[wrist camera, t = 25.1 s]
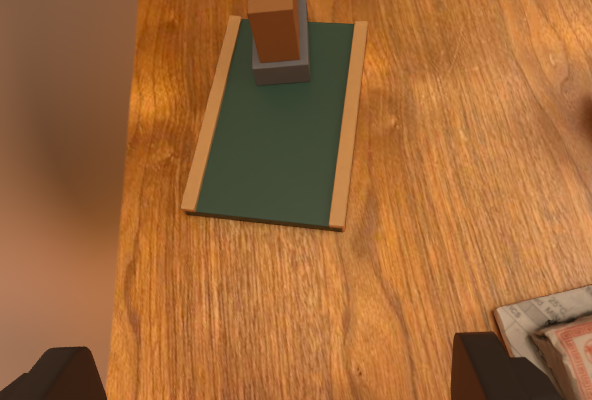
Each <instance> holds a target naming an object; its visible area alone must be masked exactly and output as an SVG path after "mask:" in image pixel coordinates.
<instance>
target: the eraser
mask: <svg viewBox="0 0 592 400" xmlns="http://www.w3.org/2000/svg"><path fill="white" fill-rule="evenodd" d="M247 15H248V18H249V22H250V26H251V30H252V34H253V52H252V70H253V73H254V77H255V80H256V83H257V86H261V85H273V84H285V83H298V82H310V59H309V35H308V12H307V2H306V0H247Z"/></svg>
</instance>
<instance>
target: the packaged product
mask: <svg viewBox="0 0 592 400" xmlns="http://www.w3.org/2000/svg"><path fill="white" fill-rule="evenodd" d="M494 316H495V318H496V321H497V324H498V327H499V329H500V332H501V335H502V337H503V340H504V343H505V345H506V348H507V350H508V353H509V356H510V357H526V358H527V359H528V360H529V361H531V362H532V363H533V364H534V365H535V366H537V367H538V368H539V369H540V370H541V371H543V372H544V373H545V374H546V375H547V376H548V377H549V378H550V380H551V381H552V383H553V385H554V386H555V388H556V389H557V391H558V393H559V394H560V396H561V397H562V399H563V400H592V284H591V285H588V286H584V287H581V288H577V289H573V290H569V291H564V292H560V293H556V294H551V295H547V296H542V297H538V298H534V299H529V300H525V301H520V302H516V303H513V304H509V305H506V306H502V307H499V308H496V309H495V311H494Z"/></svg>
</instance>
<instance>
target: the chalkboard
mask: <svg viewBox="0 0 592 400" xmlns="http://www.w3.org/2000/svg"><path fill="white" fill-rule="evenodd" d="M367 28H368V21H355V24H344V23H320V22H308V35H309V59H310V82H298V83H285V84H273V85H261V86H257V83H256V80H255V77H254V73H253V70H252V52H253V34H252V30H251V26H250V22H249V19H242V16H230V18H229V21H228V25H227V29H226V33H225V37H224V41H223V45H222V49H221V52H220V56H219V60H218V64H217V68H216V72H215V76H214V79H213V83H212V87H211V91H210V95H209V99H208V103H207V107H206V110H205V114H204V118H203V122H202V126H201V130H200V134H199V138H198V141H197V145H196V149H195V153H194V157H193V161H192V165H191V169H190V172H189V176H188V180H187V184H186V188H185V192H184V196H183V199H182V203H181V207H180V209H181V210H182V211H183V212H184V213H185V214H187V215H196V216H205V217H214V218H223V219H232V220H241V221H250V222H259V223H268V224H277V225H286V226H295V227H304V228H313V229H321V230H330V231H339V232H344V230H345V221H346V212H347V204H348V195H349V186H350V178H351V169H352V160H353V152H354V143H355V134H356V125H357V117H358V108H359V99H360V91H361V82H362V73H363V64H364V56H365V47H366V38H367Z"/></svg>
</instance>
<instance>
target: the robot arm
mask: <svg viewBox="0 0 592 400" xmlns="http://www.w3.org/2000/svg"><path fill="white" fill-rule="evenodd" d="M0 400H107V397H106V393H105V390H104V388H103V385H102V382H101V379H100V376H99V373H98V370H97V367H96V365H95V361H94V359H93V356H92V353H91V351H90V350H89V349H88V348H87V347H60V348H50V349H48V350H47V351H46V352H45V353H44V354H43V355H42V356H41V358H40V359H39V360H38V361H37V363H36V364H35V365H34V366H33V368H32V369H31V370H30V371H29V373H24V374H22V375H21V376H20V377H19V378H17V379H16V380H15V381H13V382H12V383H11V384H9V385H8V386H7V387H5V388H4V389H3V390H2V391H0ZM451 400H563V399H562V397H561V396H560V394H559V393H558V391H557V389H556V388H555V386H554V385H553V383H552V381H551V380H550V378H549V377H548V376H547V375H546V374H545V373H544V372H543V371H541V370H540V369H539V368H538V367H537V366H535V365H534V364H533V363H532V362H531V361H529V360H528V359H527V358H526V357H508V355H507V353H506V351H505V349H504V348H503V346H502V344H501V342H500V340H499V339H498V337H497V335H496V334H495V333H494V332H492V331H490V332H465V333H455V335H454V340H453V355H452V372H451Z"/></svg>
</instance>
